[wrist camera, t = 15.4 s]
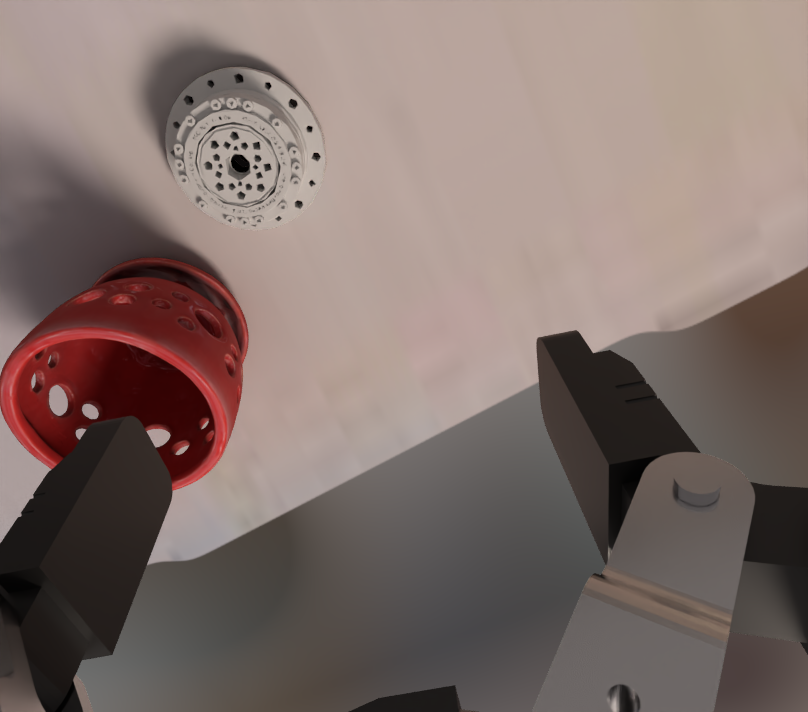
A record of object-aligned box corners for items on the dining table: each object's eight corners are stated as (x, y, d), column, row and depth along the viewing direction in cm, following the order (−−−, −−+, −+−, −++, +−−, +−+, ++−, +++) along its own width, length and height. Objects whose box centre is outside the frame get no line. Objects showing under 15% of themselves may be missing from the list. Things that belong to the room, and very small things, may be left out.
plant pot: (63, 237, 39) (-41, 319, 29) (256, 250, 41) (221, 331, 31) (98, 391, 46) (24, 500, 36) (262, 397, 48) (235, 504, 37)
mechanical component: (328, 225, 40) (323, 69, 35) (325, 247, 37) (319, 76, 31) (185, 222, 40) (158, 62, 34) (166, 245, 36) (133, 69, 31)
